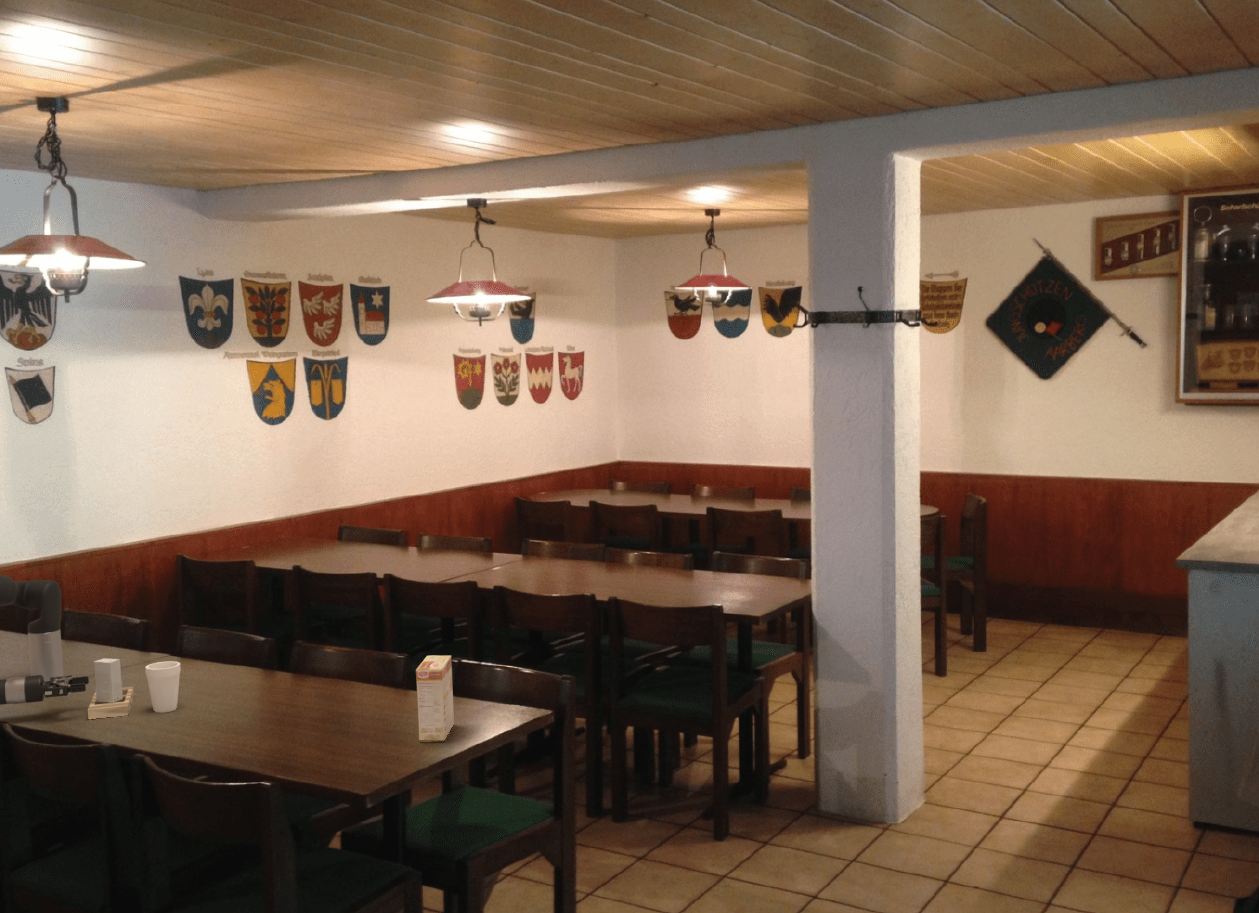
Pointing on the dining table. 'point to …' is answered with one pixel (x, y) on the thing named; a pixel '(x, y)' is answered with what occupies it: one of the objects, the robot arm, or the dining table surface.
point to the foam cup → (163, 685)
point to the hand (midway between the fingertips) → (87, 683)
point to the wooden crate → (111, 706)
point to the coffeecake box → (435, 697)
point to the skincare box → (108, 680)
